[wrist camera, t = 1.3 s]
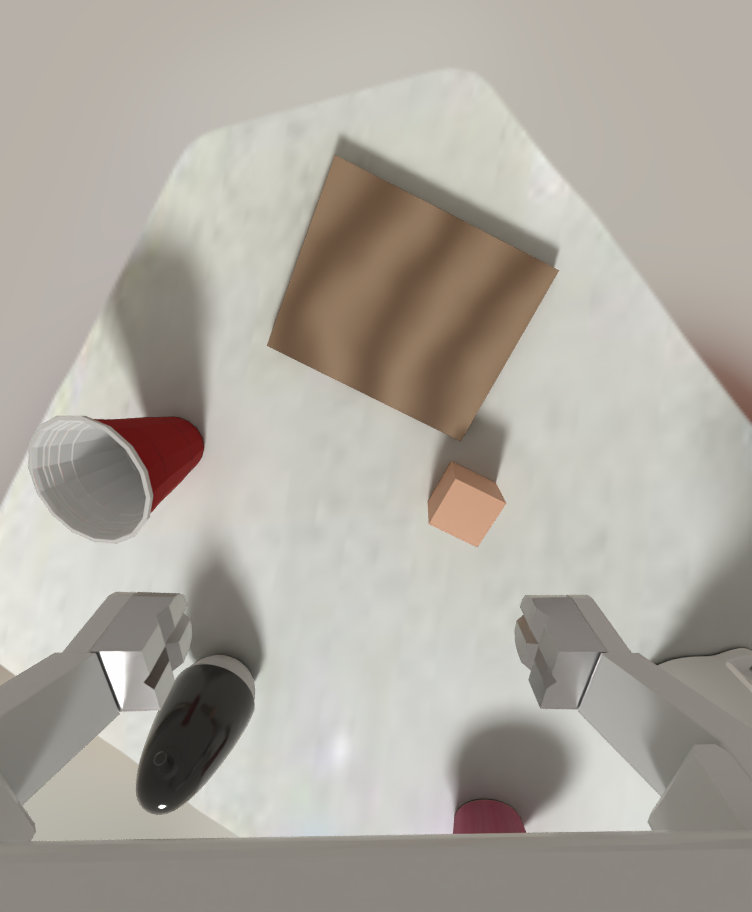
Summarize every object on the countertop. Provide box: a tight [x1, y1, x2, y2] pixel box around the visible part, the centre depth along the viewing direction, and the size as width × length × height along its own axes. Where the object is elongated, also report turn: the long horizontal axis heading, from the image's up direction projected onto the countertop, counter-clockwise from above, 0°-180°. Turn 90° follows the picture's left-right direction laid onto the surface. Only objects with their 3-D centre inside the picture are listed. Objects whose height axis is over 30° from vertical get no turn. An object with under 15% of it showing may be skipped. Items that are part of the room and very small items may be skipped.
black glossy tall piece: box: [136, 655, 255, 815], centre depth 43 cm, size 10×10×15 cm
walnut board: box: [267, 155, 559, 441], centre depth 34 cm, size 20×16×2 cm
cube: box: [428, 461, 506, 547], centre depth 37 cm, size 5×5×5 cm
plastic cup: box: [28, 416, 204, 544], centre depth 35 cm, size 11×11×12 cm
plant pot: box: [453, 800, 526, 834], centre depth 47 cm, size 14×14×13 cm
